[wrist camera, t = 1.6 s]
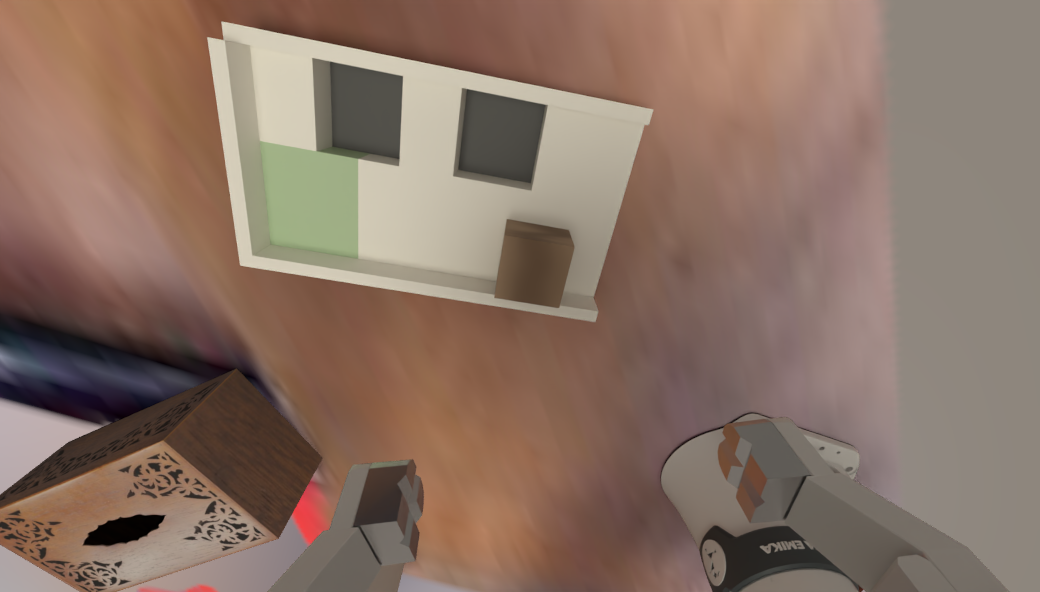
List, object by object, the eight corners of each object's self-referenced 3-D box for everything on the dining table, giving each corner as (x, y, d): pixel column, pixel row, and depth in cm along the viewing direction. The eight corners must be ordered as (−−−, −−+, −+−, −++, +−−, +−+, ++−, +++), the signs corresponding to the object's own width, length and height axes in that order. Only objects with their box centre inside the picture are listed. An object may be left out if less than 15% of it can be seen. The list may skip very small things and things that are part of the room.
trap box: (638, 107, 31) (660, 110, 26) (585, 292, 38) (595, 322, 33) (258, 30, 29) (204, 17, 24) (278, 241, 36) (240, 265, 31)
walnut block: (568, 229, 32) (574, 247, 28) (555, 285, 34) (559, 308, 31) (506, 218, 32) (505, 235, 28) (497, 276, 34) (494, 297, 30)
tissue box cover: (164, 514, 53) (92, 599, 44) (68, 441, 47) (-37, 523, 38) (323, 455, 48) (278, 538, 39) (238, 366, 42) (162, 440, 33)
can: (360, 520, 53) (320, 628, 43) (415, 534, 55) (389, 643, 44) (348, 552, 56) (307, 660, 46) (400, 564, 58) (372, 672, 47)
